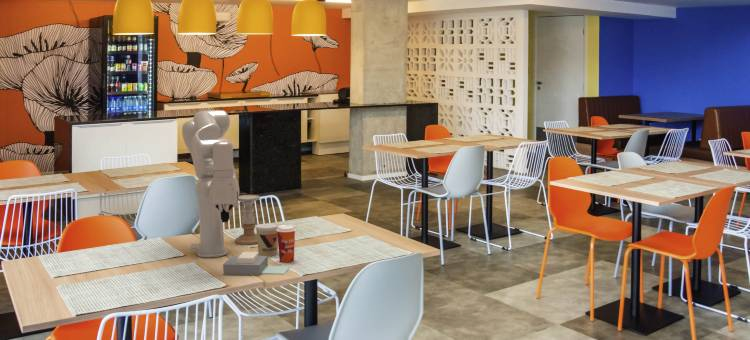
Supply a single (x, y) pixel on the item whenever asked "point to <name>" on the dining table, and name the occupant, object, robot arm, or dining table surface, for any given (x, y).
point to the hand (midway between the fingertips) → (225, 221)
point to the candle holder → (248, 221)
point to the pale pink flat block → (248, 257)
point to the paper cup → (286, 242)
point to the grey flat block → (244, 266)
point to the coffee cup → (267, 239)
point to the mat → (275, 270)
